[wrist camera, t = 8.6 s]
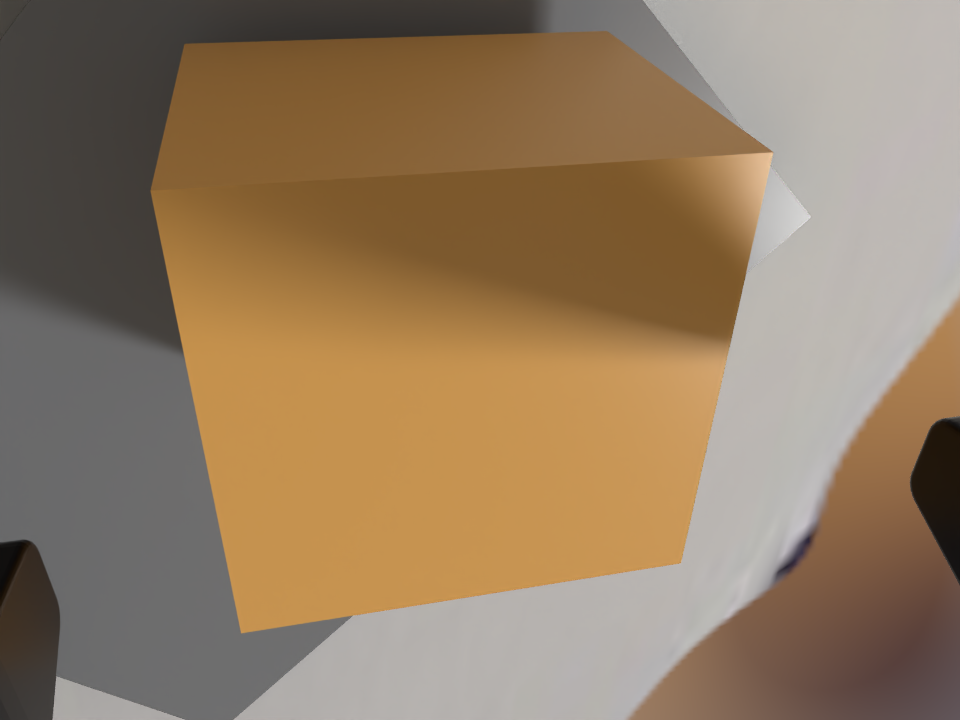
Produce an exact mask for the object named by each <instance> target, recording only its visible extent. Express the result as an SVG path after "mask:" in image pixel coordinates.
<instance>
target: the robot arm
mask: <svg viewBox="0 0 960 720" xmlns="http://www.w3.org/2000/svg"><path fill="white" fill-rule="evenodd" d="M910 488H911V492H912V496H913V498H914V501H915V502H916V504H917V506H918V508H919V510H920V512H921V514H922V516H923V517H924V519H925V521H926V523H927V525H928V527H929V529H930V530H931V532H932V534H933V536H934V538H935V540H936V542H937V543H938V545H939V547H940V549H941V551H942V553H943V555H944V557H945V558H946V560H947V562H948V564H949V566H950V568H951V570H952V572H953V573H954V575H955V577H956V579H957V581H958V583H959V584H960V416H959V417H952V418H945V419H941V420H938V421H936V422H935V423H934V424H933V425H932V426H931V428H930V430H929V432H928V434H927V437H926V439H925V442H924V444H923V447H922V449H921V451H920V454H919V456H918V459H917V461H916V463H915V466H914V468H913V471H912V474H911V478H910ZM59 636H60V609H59V604H58V600H57V597H56V594H55V592H54V589H53V586H52V584H51V581H50V579H49V576H48V573H47V571H46V568H45V565H44V563H43V560H42V557H41V555H40V552H39V550H38V548H37V547H36V545H35V544H34V543H33V542H32V541H29V540H23V539H22V540H15V541H7V542H0V720H52V718H53V707H54V695H55V683H56V672H57V660H58V648H59Z"/></svg>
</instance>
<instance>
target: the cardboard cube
mask: <svg viewBox="0 0 960 720" xmlns="http://www.w3.org/2000/svg"><path fill="white" fill-rule="evenodd" d="M772 156H773V152H772V151H771V150H770V149H768V148H767V147H765V146H764V145H763V144H761V143H760V142H759V141H757V140H756V139H754V138H753V137H752V136H750V135H749V134H748V133H746V132H745V131H743V130H742V129H741V128H739V127H738V126H737V125H735V124H734V123H733V122H731V121H730V120H728V119H727V118H726V117H724V116H723V115H722V114H720V113H719V112H717V111H716V110H715V109H713V108H712V107H711V106H709V105H708V104H706V103H705V102H704V101H702V100H701V99H700V98H698V97H697V96H695V95H694V94H693V93H691V92H690V91H689V90H687V89H686V88H685V87H683V86H682V85H680V84H679V83H678V82H676V81H675V80H674V79H672V78H671V77H669V76H668V75H667V74H665V73H664V72H663V71H661V70H660V69H658V68H657V67H656V66H654V65H653V64H652V63H650V62H649V61H647V60H646V59H645V58H643V57H642V56H641V55H639V54H638V53H637V52H635V51H634V50H632V49H631V48H630V47H628V46H627V45H626V44H624V43H623V42H621V41H620V40H619V39H617V38H616V37H615V36H613V35H612V34H610V33H609V32H608V31H589V32H556V33H523V34H490V35H457V36H424V37H391V38H358V39H325V40H292V41H259V42H226V43H193V44H184V48H183V52H182V57H181V61H180V65H179V70H178V74H177V78H176V83H175V87H174V91H173V96H172V100H171V104H170V108H169V113H168V117H167V121H166V126H165V130H164V134H163V139H162V143H161V147H160V152H159V156H158V160H157V165H156V169H155V173H154V178H153V182H152V186H151V190H150V191H151V196H152V201H153V206H154V210H155V215H156V220H157V225H158V230H159V235H160V240H161V245H162V249H163V254H164V259H165V264H166V269H167V274H168V279H169V284H170V288H171V293H172V298H173V303H174V308H175V313H176V318H177V323H178V328H179V332H180V337H181V342H182V347H183V352H184V357H185V362H186V367H187V371H188V376H189V381H190V386H191V391H192V396H193V401H194V406H195V410H196V415H197V420H198V425H199V430H200V435H201V440H202V445H203V450H204V454H205V459H206V464H207V469H208V474H209V479H210V484H211V489H212V493H213V498H214V503H215V508H216V513H217V518H218V523H219V528H220V532H221V537H222V542H223V547H224V552H225V557H226V562H227V567H228V572H229V576H230V581H231V586H232V591H233V596H234V601H235V606H236V611H237V615H238V620H239V625H240V630H241V633H247V632H253V631H259V630H266V629H272V628H278V627H285V626H291V625H297V624H303V623H310V622H316V621H322V620H328V619H335V618H341V617H347V616H353V615H360V614H366V613H372V612H378V611H385V610H391V609H397V608H403V607H410V606H416V605H422V604H429V603H435V602H441V601H447V600H454V599H460V598H466V597H472V596H479V595H485V594H491V593H497V592H504V591H510V590H516V589H522V588H529V587H535V586H541V585H547V584H554V583H560V582H566V581H573V580H579V579H585V578H591V577H598V576H604V575H610V574H616V573H623V572H629V571H635V570H641V569H648V568H654V567H660V566H666V565H673V564H679V563H681V560H682V555H683V551H684V546H685V542H686V538H687V533H688V529H689V524H690V520H691V515H692V511H693V507H694V502H695V498H696V493H697V489H698V484H699V480H700V475H701V471H702V467H703V462H704V458H705V453H706V449H707V444H708V440H709V436H710V431H711V427H712V422H713V418H714V413H715V409H716V405H717V400H718V396H719V391H720V387H721V382H722V378H723V374H724V369H725V365H726V360H727V356H728V351H729V347H730V342H731V338H732V334H733V329H734V325H735V320H736V316H737V311H738V307H739V303H740V298H741V294H742V289H743V285H744V280H745V276H746V272H747V267H748V263H749V258H750V254H751V249H752V245H753V241H754V236H755V232H756V227H757V223H758V218H759V214H760V209H761V205H762V201H763V196H764V192H765V187H766V183H767V178H768V174H769V170H770V165H771V161H772Z"/></svg>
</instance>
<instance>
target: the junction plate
mask: <svg viewBox="0 0 960 720" xmlns="http://www.w3.org/2000/svg"><path fill="white" fill-rule="evenodd" d="M589 31H608V32H609V33H610V34H612V35H613V36H615V37H616V38H617V39H619V40H620V41H621V42H623V43H624V44H626V45H627V46H628V47H630V48H631V49H632V50H634V51H635V52H637V53H638V54H639V55H641V56H642V57H643V58H645V59H646V60H647V61H649V62H650V63H652V64H653V65H654V66H656V67H657V68H658V69H660V70H661V71H663V72H664V73H665V74H667V75H668V76H669V77H671V78H672V79H674V80H675V81H676V82H678V83H679V84H680V85H682V86H683V87H685V88H686V89H687V90H689V91H690V92H691V93H693V94H694V95H695V96H697V97H698V98H700V99H701V100H702V101H704V102H705V103H706V104H708V105H709V106H711V107H712V108H713V109H715V110H716V111H717V112H719V113H720V114H722V115H723V116H724V117H726V118H727V119H728V120H730V121H731V122H733V123H734V124H735V125H737V126H738V127H739V128H741V129H742V127H741V126H740V125H739V124H738V122H737V121H736V120H735V118H734V117H733V116H732V115H731V113H730V112H729V111H728V109H727V108H726V107H725V106H724V104H723V103H722V102H721V100H720V99H719V98H718V97H717V95H716V94H715V93H714V91H713V90H712V89H711V88H710V86H709V85H708V84H707V82H706V81H705V80H704V79H703V77H702V76H701V75H700V73H699V72H698V71H697V70H696V68H695V67H694V66H693V64H692V63H691V62H690V61H689V59H688V58H687V57H686V55H685V54H684V53H683V52H682V50H681V49H680V48H679V46H678V45H677V44H676V43H675V41H674V40H673V39H672V37H671V36H670V35H669V34H668V32H667V31H666V30H665V28H664V27H663V26H662V25H661V23H660V22H659V21H658V20H657V18H656V17H655V16H654V14H653V13H652V12H651V11H650V9H649V8H648V7H647V5H646V4H645V3H644V2H643V0H30V1H29V2H28V3H27V5H26V6H25V7H24V9H23V10H22V11H21V13H20V14H19V15H18V17H17V18H16V19H15V21H14V22H13V23H12V25H11V26H10V27H9V29H8V30H7V32H6V33H5V34H4V36H3V37H2V38H1V40H0V542H7V541H15V540H22V539H23V540H29V541H32V542H33V543H34V544H35V545H36V547H37V548H38V550H39V552H40V555H41V557H42V560H43V563H44V565H45V568H46V571H47V573H48V576H49V579H50V581H51V584H52V586H53V589H54V592H55V594H56V597H57V600H58V604H59V609H60V636H59V648H58V660H57V672H56V676H57V677H60V678H63V679H66V680H69V681H72V682H75V683H78V684H81V685H84V686H87V687H90V688H93V689H96V690H99V691H102V692H105V693H108V694H111V695H114V696H117V697H120V698H123V699H126V700H129V701H132V702H135V703H138V704H141V705H144V706H147V707H150V708H153V709H156V710H159V711H162V712H164V713H167V714H170V715H173V716H176V717H179V718H182V719H185V720H233V719H234V718H236V717H237V716H238V715H239V714H240V713H241V712H243V711H244V710H245V709H246V708H247V707H248V706H249V705H251V704H252V703H253V702H254V701H255V700H256V699H257V698H259V697H260V696H261V695H262V694H263V693H264V692H266V691H267V690H268V689H269V688H270V687H271V686H272V685H274V684H275V683H276V682H277V681H278V680H279V679H280V678H282V677H283V676H284V675H285V674H286V673H287V672H289V671H290V670H291V669H292V668H293V667H294V666H295V665H297V664H298V663H299V662H300V661H301V660H302V659H304V658H305V657H306V656H307V655H308V654H309V653H310V652H312V651H313V650H314V649H315V648H316V647H317V646H318V645H320V644H321V643H322V642H323V641H324V640H325V639H327V638H328V637H329V636H330V635H331V634H332V633H333V632H335V631H336V630H337V629H338V628H339V627H340V626H341V625H343V624H344V623H345V622H346V621H347V620H348V619H350V618H351V617H352V616H347V617H341V618H335V619H328V620H322V621H316V622H310V623H303V624H297V625H291V626H285V627H278V628H272V629H266V630H259V631H253V632H247V633H241V630H240V625H239V620H238V615H237V611H236V606H235V601H234V596H233V591H232V586H231V581H230V576H229V572H228V567H227V562H226V557H225V552H224V547H223V542H222V537H221V532H220V528H219V523H218V518H217V513H216V508H215V503H214V498H213V493H212V489H211V484H210V479H209V474H208V469H207V464H206V459H205V454H204V450H203V445H202V440H201V435H200V430H199V425H198V420H197V415H196V410H195V406H194V401H193V396H192V391H191V386H190V381H189V376H188V371H187V367H186V362H185V357H184V352H183V347H182V342H181V337H180V332H179V328H178V323H177V318H176V313H175V308H174V303H173V298H172V293H171V288H170V284H169V279H168V274H167V269H166V264H165V259H164V254H163V249H162V245H161V240H160V235H159V230H158V225H157V220H156V215H155V210H154V206H153V201H152V196H151V191H150V190H151V186H152V182H153V178H154V173H155V169H156V165H157V160H158V156H159V152H160V147H161V143H162V139H163V134H164V130H165V126H166V121H167V117H168V113H169V108H170V104H171V100H172V96H173V91H174V87H175V83H176V78H177V74H178V70H179V65H180V61H181V57H182V52H183V48H184V44H193V43H226V42H259V41H292V40H325V39H358V38H391V37H424V36H457V35H490V34H523V33H556V32H589ZM742 130H743V129H742ZM743 131H744V130H743ZM810 218H811V216H810V215H809V214H808V212H807V211H806V210H805V208H804V207H803V206H802V205H801V203H800V202H799V201H798V199H797V198H796V197H795V196H794V194H793V193H792V192H791V190H790V189H789V188H788V187H787V185H786V184H785V183H784V181H783V180H782V179H781V178H780V176H779V175H778V174H777V172H776V171H775V170H774V169H773V167H772V166H771V165H770V170H769V174H768V178H767V183H766V187H765V192H764V196H763V201H762V205H761V209H760V214H759V218H758V223H757V227H756V232H755V236H754V241H753V245H752V249H751V254H750V258H749V263H748V267H747V272H746V274H747V273H748V272H749V271H750V270H751V269H752V268H754V267H755V266H756V265H757V264H758V263H759V262H760V261H762V260H763V259H764V258H765V257H766V256H767V255H768V254H770V253H771V252H772V251H773V250H774V249H775V248H777V247H778V246H779V245H780V244H781V243H782V242H783V241H785V240H786V239H787V238H788V237H789V236H790V235H791V234H793V233H794V232H795V231H796V230H797V229H798V228H800V227H801V226H802V225H803V224H804V223H805V222H806V221H808V220H809V219H810Z"/></svg>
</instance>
